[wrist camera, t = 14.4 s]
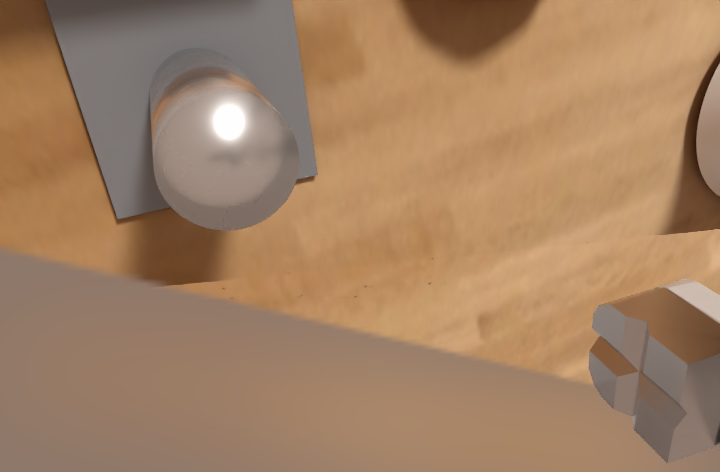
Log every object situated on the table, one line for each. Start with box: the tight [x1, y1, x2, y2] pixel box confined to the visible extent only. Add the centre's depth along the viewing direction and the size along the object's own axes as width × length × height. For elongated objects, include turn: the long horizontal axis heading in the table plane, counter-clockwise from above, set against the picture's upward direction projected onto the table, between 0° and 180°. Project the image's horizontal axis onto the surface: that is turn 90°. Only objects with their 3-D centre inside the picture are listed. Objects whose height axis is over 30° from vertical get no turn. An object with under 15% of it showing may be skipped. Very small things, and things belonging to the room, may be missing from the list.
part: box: [150, 48, 299, 231], centre depth 22 cm, size 4×4×10 cm
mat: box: [45, 0, 318, 219], centre depth 27 cm, size 10×10×1 cm
